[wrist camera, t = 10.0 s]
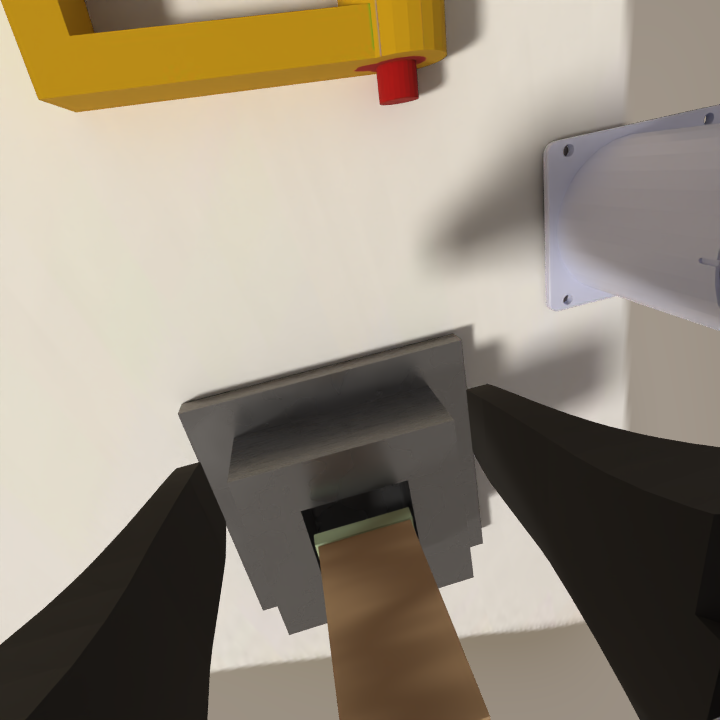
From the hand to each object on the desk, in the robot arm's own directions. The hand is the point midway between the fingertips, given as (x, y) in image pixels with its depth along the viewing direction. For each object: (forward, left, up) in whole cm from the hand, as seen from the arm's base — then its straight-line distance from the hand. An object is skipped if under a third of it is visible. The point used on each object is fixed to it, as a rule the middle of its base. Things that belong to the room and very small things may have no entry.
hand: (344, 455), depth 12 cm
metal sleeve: (0, +9, -10) cm, 14 cm away
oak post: (0, +9, -5) cm, 10 cm away
